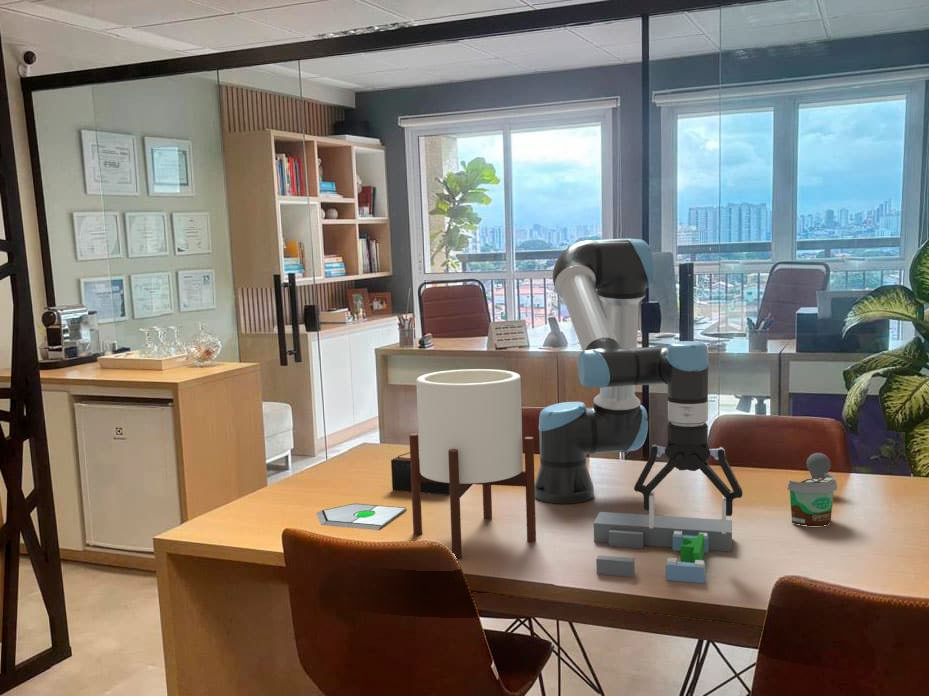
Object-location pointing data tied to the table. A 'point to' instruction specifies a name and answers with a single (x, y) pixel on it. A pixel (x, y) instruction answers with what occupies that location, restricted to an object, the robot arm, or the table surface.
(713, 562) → the table surface
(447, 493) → the radio
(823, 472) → the light bulb
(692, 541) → the pipe clamp
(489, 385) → the plant pot with stand
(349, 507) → the grey pentagonal plate
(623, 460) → the table surface
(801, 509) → the food container
